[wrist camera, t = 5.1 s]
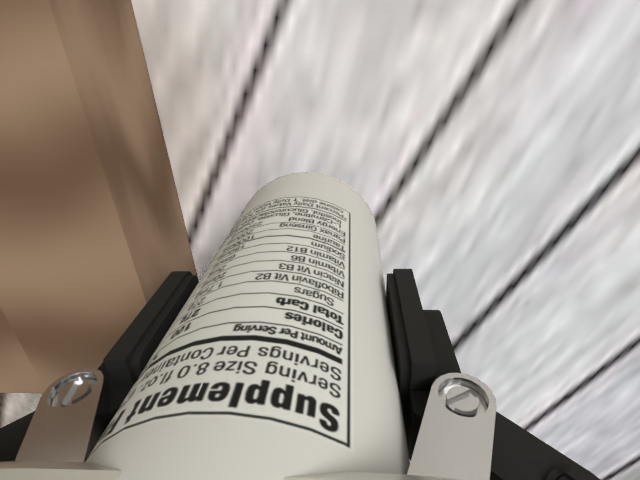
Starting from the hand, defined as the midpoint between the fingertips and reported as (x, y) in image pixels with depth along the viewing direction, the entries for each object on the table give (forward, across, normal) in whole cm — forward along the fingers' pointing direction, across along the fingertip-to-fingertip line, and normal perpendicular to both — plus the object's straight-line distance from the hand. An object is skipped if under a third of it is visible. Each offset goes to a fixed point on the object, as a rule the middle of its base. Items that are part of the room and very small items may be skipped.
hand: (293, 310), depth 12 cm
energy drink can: (+6, 0, 0) cm, 6 cm away
